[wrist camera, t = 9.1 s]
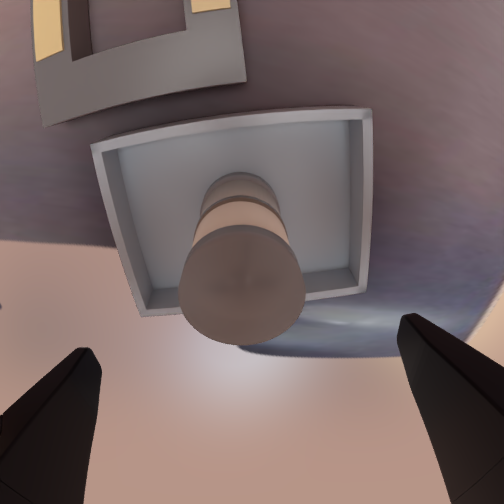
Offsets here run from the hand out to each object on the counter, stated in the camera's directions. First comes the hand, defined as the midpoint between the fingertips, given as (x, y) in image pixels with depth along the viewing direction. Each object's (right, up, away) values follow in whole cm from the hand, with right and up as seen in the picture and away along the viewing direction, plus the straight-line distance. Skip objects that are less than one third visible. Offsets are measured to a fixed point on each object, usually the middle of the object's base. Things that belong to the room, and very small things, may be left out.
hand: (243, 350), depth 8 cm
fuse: (0, +5, +9) cm, 10 cm away
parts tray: (0, +5, +9) cm, 11 cm away
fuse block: (-6, +15, +4) cm, 17 cm away
